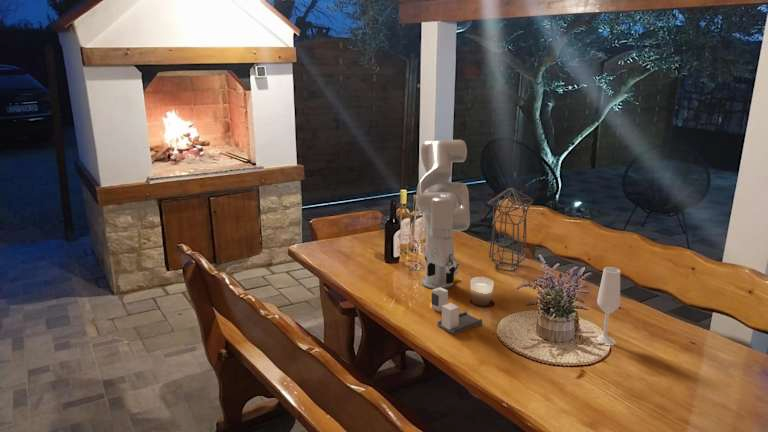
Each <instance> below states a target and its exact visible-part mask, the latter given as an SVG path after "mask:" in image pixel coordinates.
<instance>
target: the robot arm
mask: <svg viewBox="0 0 768 432" xmlns="http://www.w3.org/2000/svg"><path fill="white" fill-rule="evenodd" d="M467 148H468V147H467V144H466V142H465V141H464V140H462V139H430V140H426V141H424V142H422V144H421V148H420V154H421V160H422V161H421V162H422V164H423V167H424V170H425V172H426V173H424V175H423V176H422V177H421V178H420V180H419V181H418V184H417V186H416V208H417V210H418V212H420V213H422V214H423V215H424V216H423V219H424V220H423V221H424V227H425V250H423V255H424V260H425V276H424V277H422V279H421V284H422V286H423V287H425V288H429V289H432V290H433V289H436V288H440V287H441V288H443V289H445V290H446V289H448V288H451V287H453V285H454V283H455V276H456V275H459V270H458V267H459V265H460V262H459V260H457V258H456V256H455V245H454V244H455V243H454V238H453V232H458V231H459V232H461V231H462V232H463V231H466V230H468V229H469V227H470V223H471V217H470V216H471V212H470V196H469V189H468V186H467V185H466V184H465V183H464V182H450V178H451V176H452V173H453V170H452V168H453V167H452V163H464V162H465V161H466V159H467V156H468V149H467Z"/></svg>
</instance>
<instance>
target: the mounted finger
mask: <svg viewBox="0 0 768 432" xmlns="http://www.w3.org/2000/svg"><path fill="white" fill-rule="evenodd" d="M459 314H460V306H459V305H456V304H454V303H452V302H448V304H446V305H443V306H442V311H441V320H442V324H441V325H442V326H444V327H446V328H448V329H449V330H450V329H453V328H455V327H458V326H459Z"/></svg>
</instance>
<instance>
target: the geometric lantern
mask: <svg viewBox="0 0 768 432" xmlns="http://www.w3.org/2000/svg"><path fill="white" fill-rule="evenodd" d="M511 194H512V195H513V196H511ZM521 195H522V196H523V197H522V196H521ZM502 197H504V198H503V199H502V201H501V202H500V200H501V198H502ZM511 199H513V200H514V201H513V200H511ZM505 200H507V201H506V205H504V206H503V205H502V204H503V203H504V202H505ZM518 201H519V202H518ZM534 201H535V199H533V198H532V197H530V196H527V195H526V194H524V193H523V192H521V191H519V190H517V189H516V188H515V187H507V188H506V189H505V190H504V191H502V192H500V193H499V194H498V195H497V196H495V197H493V198H492V199H490V200H489V201H487V202H486V203H487V204H488V205H490V206H492V207H493V209H492V211H493V212H492V214H493V215H492V219H493V220H492V221H493V224H492V232H491V239H490V246H489V247H490V248H489V256H488V259H489V260H490V261H491V262H492V263H493V264H494V268H495V269H497V270H502V271H509V272H515V271H516V269H518V268H519V266H520V263H521V262H523V261H525V259H526V258H527V257H528V253H527V251H528V250H527V214H528V211H529V209H530V207H531V205H532V204H533V203H534ZM509 202H510V203H511V205H510V206H509ZM515 202H516V203H515ZM497 207H498V208H497ZM526 207H527V208H526ZM502 208H504V211H503V209H502ZM507 209H508V210H507ZM519 209H521V210H522V213H523V214H522V215H517V214H509V213H512V212H514V211H518V210H519ZM495 210H497V211H498V212H499V215H497V216H495ZM504 216H505V221H503V217H504ZM511 216H512V217H513V216H514V217H518V218H520V219H519V221H518V223H515V222H514V221H513V220H512V218H511ZM499 217H501V218H500V220H498V219H499ZM508 218H509V221H511V222H507V220H508ZM522 218H523V219H522ZM496 223H500V225H499V235H498V242H497V243H498V244H497V250H496V251H495V252H494V249H495V238H496V237H495V235H496ZM521 223H523V235H522V253H521V252H519V251H520V233H519V232H520V231H519V230H520V224H521ZM503 224H504V230H503V231H504V234H503V236H504V237H503V247H502V249H500V244H501V243H500V242H501V235H502V226H503ZM507 225H512V240H511V241H512V242H511V243H512V244H511V248H512V249H511V251H510V250H505V248H506V247H505V246H506V245H505V244H506V235H507ZM515 226H517V227H516V228H517V237H516V238H517V243H516V244H517V245H516V246H517V247H516V248H517V249H516V250H517V252H515V251H514V248H515V245H514V244H515ZM500 252H502V253H501V255H500ZM504 252H506V253H510V254H511V258H507V257H504ZM496 254H498V256H499V259H498V260H497V259H494V256H495V255H496ZM514 254H517V259H514ZM522 256H523V258H522ZM520 258H521V259H520ZM504 260H508V261H511V262H507V261H504ZM514 261H516V262H515V263H514ZM506 264H507V265H506ZM510 265H511V266H510ZM498 266H501V268H500V267H498ZM502 266H503V267H508V268H511V269H506V268H502Z"/></svg>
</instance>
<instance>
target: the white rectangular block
mask: <svg viewBox="0 0 768 432" xmlns="http://www.w3.org/2000/svg"><path fill="white" fill-rule="evenodd" d="M446 304H449V290H448V289H446V288H445V289H443V288H441V287H440V288H436V289H433V288H432V290H431V309H433V310H436V312H442V306H443V305H446Z"/></svg>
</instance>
